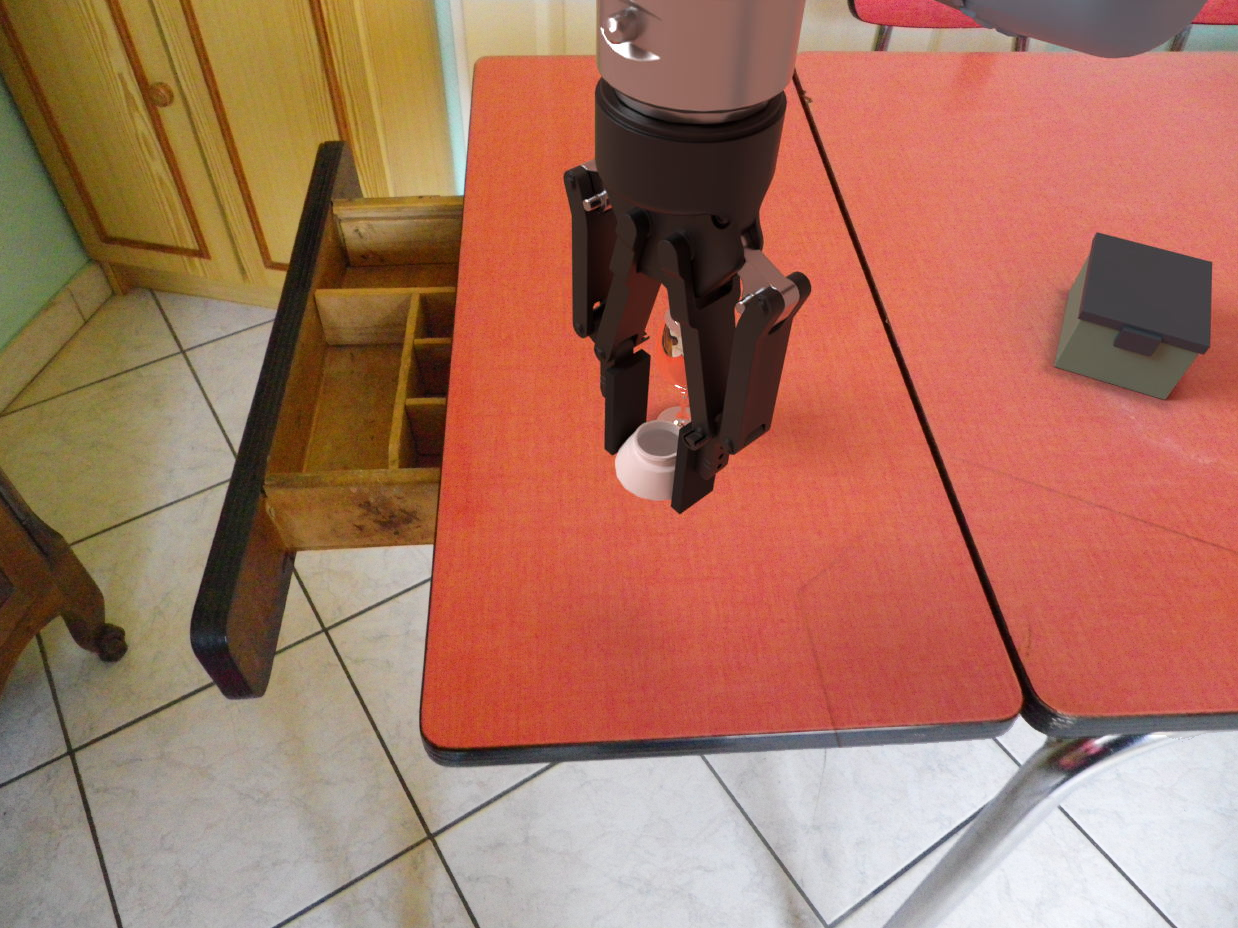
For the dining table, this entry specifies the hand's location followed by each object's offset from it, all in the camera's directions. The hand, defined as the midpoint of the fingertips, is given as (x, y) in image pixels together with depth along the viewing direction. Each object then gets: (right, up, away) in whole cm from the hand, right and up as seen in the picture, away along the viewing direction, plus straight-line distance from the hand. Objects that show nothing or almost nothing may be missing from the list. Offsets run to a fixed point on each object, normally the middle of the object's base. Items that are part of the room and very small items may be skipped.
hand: (657, 468), depth 50 cm
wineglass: (+3, +4, +25) cm, 25 cm away
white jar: (0, 0, 0) cm, 0 cm away
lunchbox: (+47, +12, +34) cm, 59 cm away
